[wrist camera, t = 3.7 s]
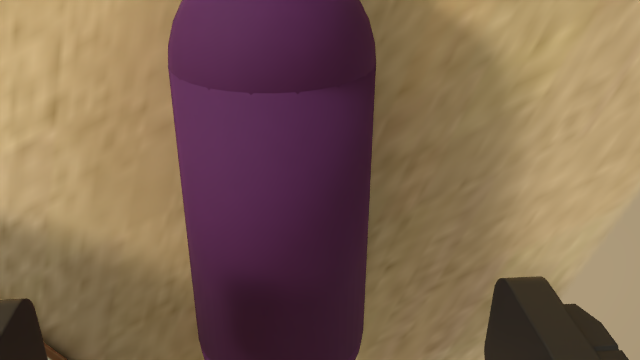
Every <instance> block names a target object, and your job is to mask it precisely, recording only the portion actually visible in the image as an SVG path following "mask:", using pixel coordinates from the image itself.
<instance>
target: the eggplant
mask: <svg viewBox="0 0 640 360" xmlns="http://www.w3.org/2000/svg"><path fill="white" fill-rule="evenodd" d="M168 69H169V78H170V86H171V95H172V104H173V113H174V122H175V131H176V140H177V149H178V158H179V167H180V176H181V185H182V194H183V203H184V212H185V221H186V229H187V238H188V247H189V256H190V265H191V274H192V283H193V292H194V301H195V310H196V319H197V328H198V336H199V342H200V345H201V349H202V353H203V356H204V359H205V360H355V359H356V357H357V355H358V353H359V349H360V344H361V339H362V334H363V324H364V303H365V282H366V261H367V240H368V220H369V199H370V178H371V157H372V136H373V115H374V95H375V74H376V53H375V41H374V37H373V33H372V29H371V25H370V22H369V18H368V16H367V14H366V12H365V10H364V8H363V6H362V4H361V2H360V0H182V2H181V4H180V6H179V8H178V11H177V13H176V15H175V18H174V20H173V24H172V29H171V34H170V39H169V44H168Z"/></svg>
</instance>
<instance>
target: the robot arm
mask: <svg viewBox="0 0 640 360" xmlns="http://www.w3.org/2000/svg"><path fill="white" fill-rule="evenodd" d="M484 355H485V360H629V359H628V358H627V357H626V356H625V354H624V353H623V351H622V350H619V349H618V345H617V343H616V342H615V341H614V339H613V338H612V337H611V335H610V334H609V333H608V331H607V330H606V329H605V327H604V326H603V325H602V323H601V322H599V321H598V320H597V319H595V318H594V317H592V316H591V315H590V314H588V313H587V312H586V311H584V310H583V309H581V308H580V307H579V306H577V305H576V304H563V303H562V301H561V300H560V299H559V297H558V296H557V294H556V293H555V291H554V290H553V289H552V287H551V286H550V284H549V283H548V281H547V280H546V279H545V278H543V277H518V278H500V279H498V281H497V282H496V284H495V288H494V293H493V299H492V305H491V311H490V316H489V322H488V328H487V334H486V340H485V349H484ZM0 360H48V358H47V354H46V350H45V346H44V342H43V338H42V334H41V331H40V327H39V323H38V319H37V315H36V311H35V308H34V305H33V303H32V302H31V301H30V300H29V299H7V300H0Z"/></svg>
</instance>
